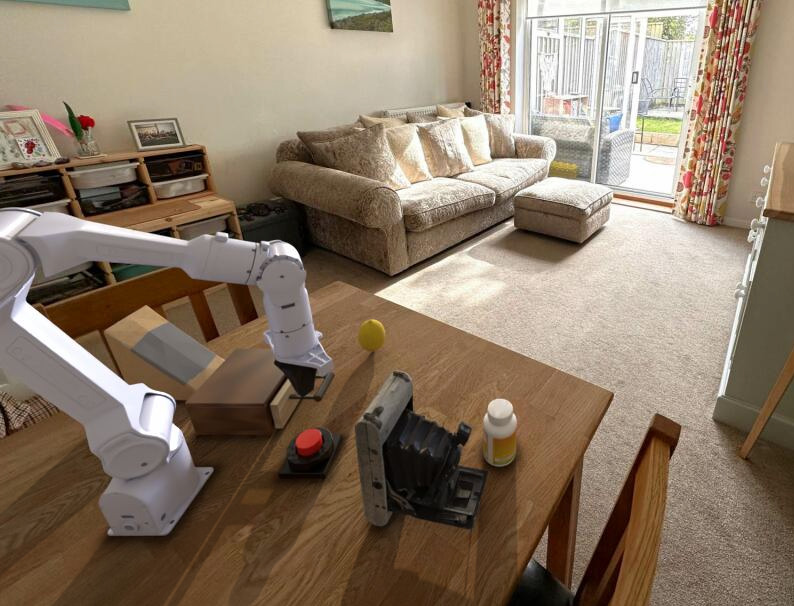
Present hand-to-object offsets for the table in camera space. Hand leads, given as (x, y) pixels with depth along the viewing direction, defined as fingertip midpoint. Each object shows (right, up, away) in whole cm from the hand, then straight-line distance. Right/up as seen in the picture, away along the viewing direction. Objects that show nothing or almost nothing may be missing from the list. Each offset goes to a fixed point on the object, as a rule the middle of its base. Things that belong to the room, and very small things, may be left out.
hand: (305, 391), depth 65 cm
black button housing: (+1, -10, -1) cm, 11 cm away
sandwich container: (-30, -4, +14) cm, 33 cm away
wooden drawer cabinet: (-14, -6, +9) cm, 18 cm away
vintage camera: (+22, -14, -6) cm, 26 cm away
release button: (+2, -8, -2) cm, 8 cm away
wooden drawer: (-9, -5, +9) cm, 14 cm away
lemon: (+3, -1, +24) cm, 24 cm away
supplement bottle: (+31, -11, +1) cm, 33 cm away
